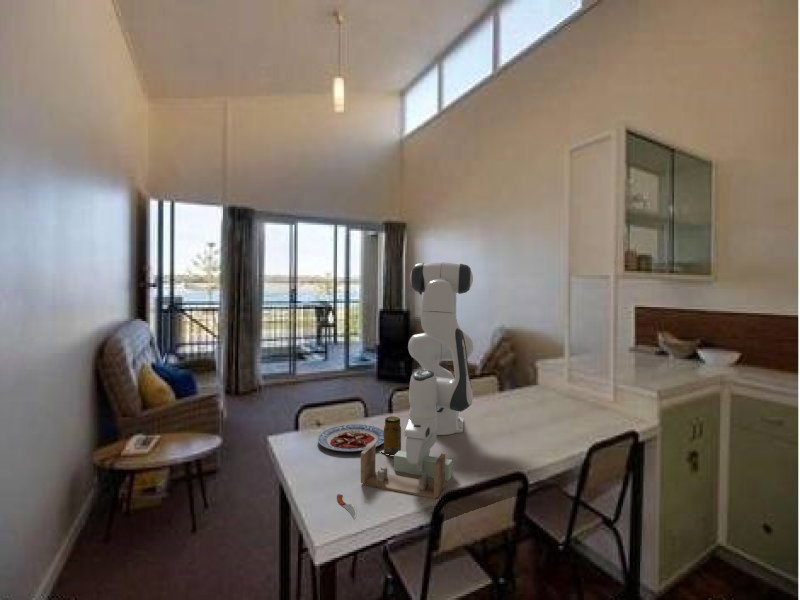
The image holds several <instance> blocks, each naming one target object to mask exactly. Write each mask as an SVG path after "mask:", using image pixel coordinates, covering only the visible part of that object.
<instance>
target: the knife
mask: <svg viewBox="0 0 800 600" xmlns="http://www.w3.org/2000/svg"><path fill="white" fill-rule="evenodd" d="M343 497H344V496H343V494H341V493H339V494H337V495H336V502H337V503H338V504H339V505H340V506H341V507H343V509H345V510H346V511H347V512H348V513H349V514H350V515H351V517H352V519H353V520H355V519H356V518H357V516H358V512H357V508H356V507H355V506H354V504H353V503H350V504H347V503H346V502H344V500H343Z"/></svg>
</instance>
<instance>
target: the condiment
mask: <svg viewBox="0 0 800 600" xmlns="http://www.w3.org/2000/svg"><path fill="white" fill-rule="evenodd" d="M383 430H384V443H383V449H381V450H378V453H380V454H382V453H381V452H383V450H384V453H385V454H389V455H386V456H387V457H389V458H393V459H394V456H390V455H395V454H396V453H397V452H398V451H401V450H402V451H403V452H406V450H405V449H402V427H401V418H399V417H397V416H394V415H393V416H387V417H385V419H384V426H383Z"/></svg>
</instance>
